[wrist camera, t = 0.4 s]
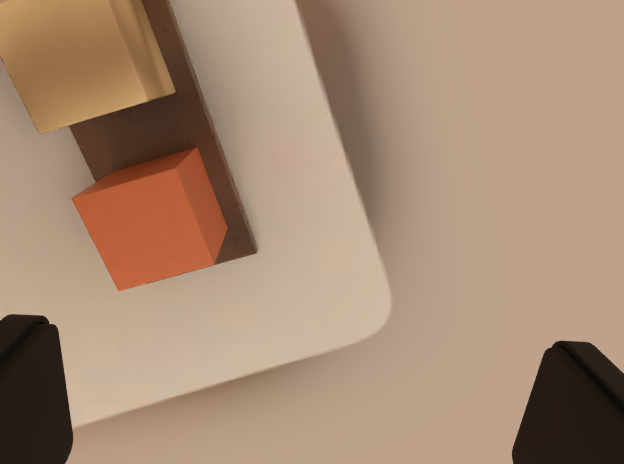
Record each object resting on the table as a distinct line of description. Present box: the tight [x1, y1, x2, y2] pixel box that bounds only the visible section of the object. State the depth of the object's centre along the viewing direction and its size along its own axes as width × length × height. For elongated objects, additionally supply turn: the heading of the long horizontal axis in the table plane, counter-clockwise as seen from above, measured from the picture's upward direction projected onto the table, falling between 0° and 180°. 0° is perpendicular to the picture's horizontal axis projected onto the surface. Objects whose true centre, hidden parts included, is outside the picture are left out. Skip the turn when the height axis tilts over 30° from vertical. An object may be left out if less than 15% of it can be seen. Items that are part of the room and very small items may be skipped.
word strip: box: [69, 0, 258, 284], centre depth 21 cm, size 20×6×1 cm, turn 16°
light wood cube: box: [0, 0, 176, 134], centre depth 18 cm, size 4×4×4 cm
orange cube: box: [72, 147, 228, 291], centre depth 20 cm, size 4×4×4 cm
